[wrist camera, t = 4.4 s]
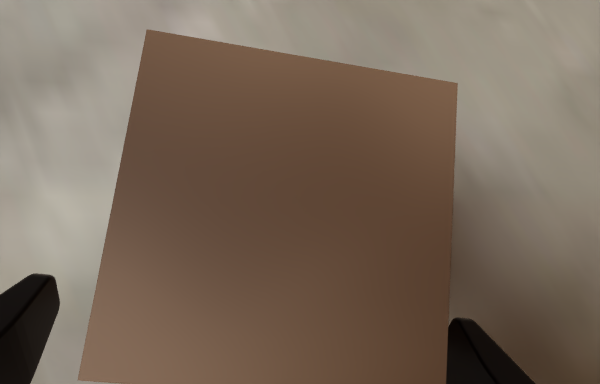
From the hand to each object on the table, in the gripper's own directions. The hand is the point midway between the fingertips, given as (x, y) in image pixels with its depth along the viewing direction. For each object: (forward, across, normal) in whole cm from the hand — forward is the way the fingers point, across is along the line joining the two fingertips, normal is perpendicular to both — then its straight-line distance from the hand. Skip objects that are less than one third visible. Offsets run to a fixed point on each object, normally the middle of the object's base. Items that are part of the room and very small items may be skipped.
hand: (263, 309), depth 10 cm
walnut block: (+8, 0, +5) cm, 9 cm away
